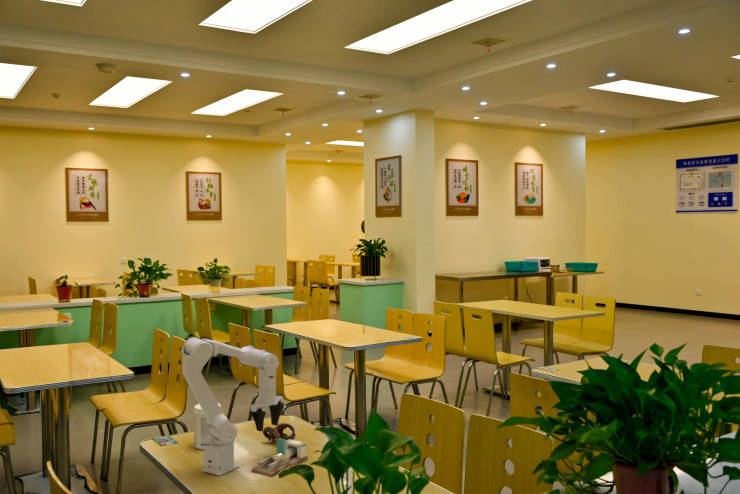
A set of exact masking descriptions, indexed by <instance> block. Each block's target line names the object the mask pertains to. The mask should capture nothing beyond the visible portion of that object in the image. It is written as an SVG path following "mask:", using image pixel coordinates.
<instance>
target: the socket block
mask: <svg viewBox="0 0 740 494" xmlns="http://www.w3.org/2000/svg"><path fill="white" fill-rule="evenodd" d="M307 444H308V443H307V442H304V441H299V440H296V439H294V440H291V439H289V440H286V450H287V449H289V448H291V447H293V446H295V447H297V458H300V459H302V458H304V457H306V456H307V453H308V451H307V450H308V449H307V448H308V447H307Z"/></svg>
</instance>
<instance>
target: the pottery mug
mask: <svg viewBox="0 0 740 494" xmlns="http://www.w3.org/2000/svg"><path fill="white" fill-rule="evenodd" d="M287 428H288V429H289V430H290V431H291V432H292V433H291V434H290V435H288V434H287V433H284V431H285V430H286V429H287ZM262 434H263V436H264V437H265V438H266V439H268V442H274V441H275V440H277V439H278V438H281V439H285V440H289V439H291V440H295V438H296V429H295V428H294V427H293V425H291V424H290V423H285V422H280V423H278V425H277V426H276V425H275V426H274V427H271V426H266V427H263V431H262Z"/></svg>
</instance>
